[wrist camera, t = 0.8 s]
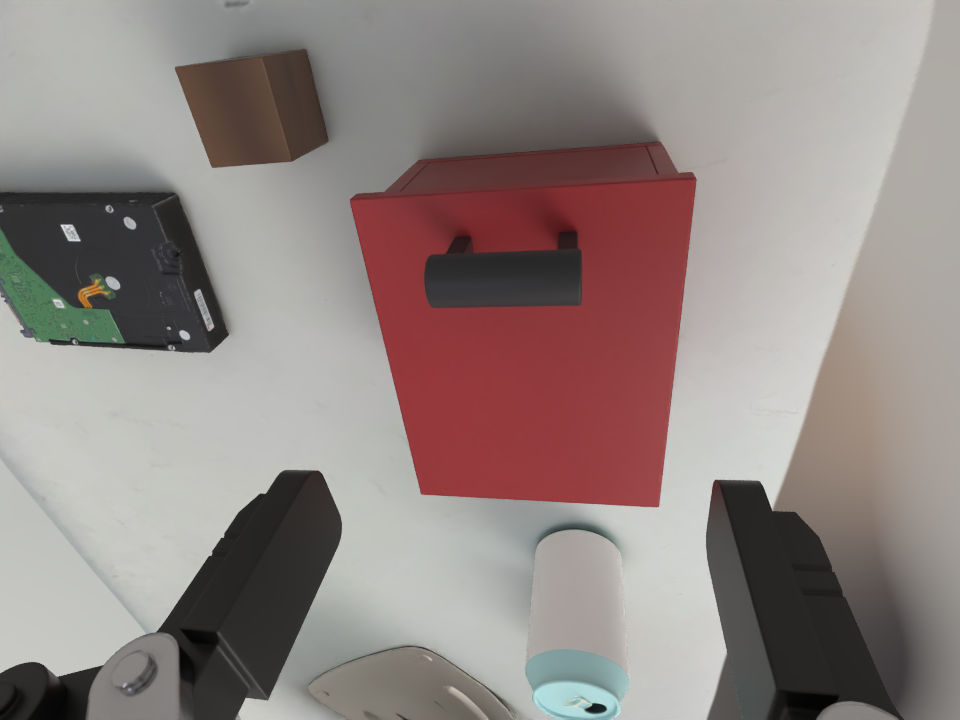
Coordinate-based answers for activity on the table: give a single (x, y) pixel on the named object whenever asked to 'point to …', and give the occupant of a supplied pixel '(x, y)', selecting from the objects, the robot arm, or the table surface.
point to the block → (254, 108)
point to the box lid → (533, 331)
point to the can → (577, 628)
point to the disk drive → (106, 272)
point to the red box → (537, 167)
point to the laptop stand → (406, 689)
